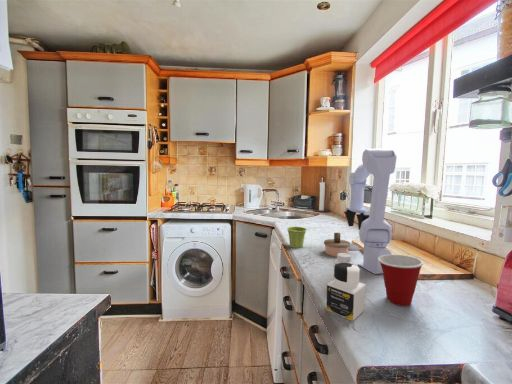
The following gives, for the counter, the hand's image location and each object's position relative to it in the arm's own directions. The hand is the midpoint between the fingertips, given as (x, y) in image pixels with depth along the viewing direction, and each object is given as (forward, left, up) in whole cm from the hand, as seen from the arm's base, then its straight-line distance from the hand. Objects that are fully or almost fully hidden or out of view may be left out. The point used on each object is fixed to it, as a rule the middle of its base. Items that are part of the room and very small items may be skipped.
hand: (355, 227), depth 115 cm
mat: (+2, +3, -10) cm, 11 cm away
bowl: (-5, +13, -10) cm, 17 cm away
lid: (-5, +13, -6) cm, 15 cm away
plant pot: (+10, +25, -10) cm, 29 cm away
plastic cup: (-44, +18, -10) cm, 49 cm away
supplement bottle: (-33, +28, -10) cm, 44 cm away
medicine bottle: (-45, +35, -10) cm, 58 cm away
